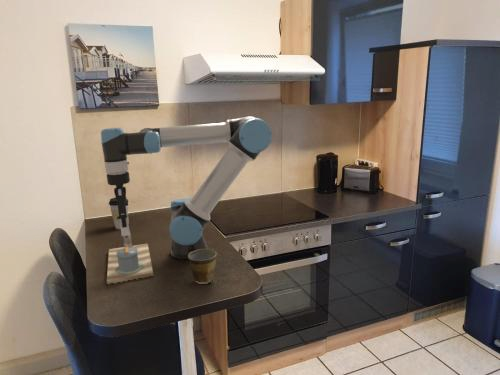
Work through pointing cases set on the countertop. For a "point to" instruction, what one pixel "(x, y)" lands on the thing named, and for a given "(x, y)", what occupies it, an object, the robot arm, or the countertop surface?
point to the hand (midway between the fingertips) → (125, 229)
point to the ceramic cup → (202, 264)
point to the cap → (128, 259)
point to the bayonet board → (120, 276)
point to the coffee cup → (115, 211)
